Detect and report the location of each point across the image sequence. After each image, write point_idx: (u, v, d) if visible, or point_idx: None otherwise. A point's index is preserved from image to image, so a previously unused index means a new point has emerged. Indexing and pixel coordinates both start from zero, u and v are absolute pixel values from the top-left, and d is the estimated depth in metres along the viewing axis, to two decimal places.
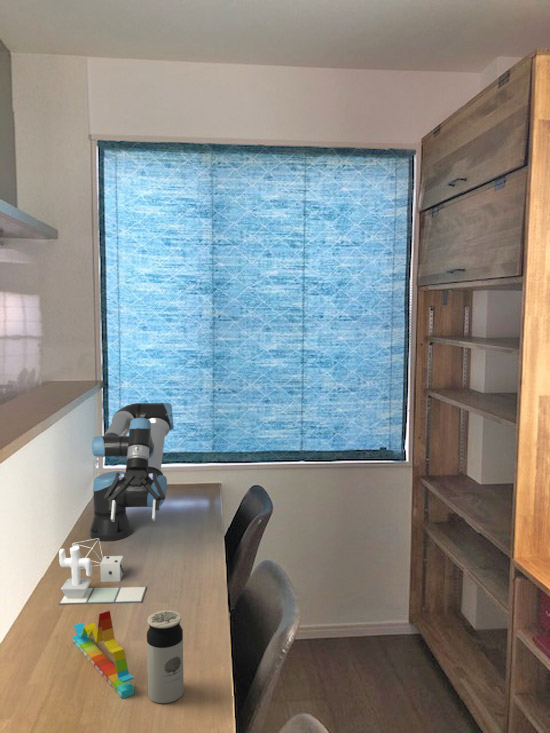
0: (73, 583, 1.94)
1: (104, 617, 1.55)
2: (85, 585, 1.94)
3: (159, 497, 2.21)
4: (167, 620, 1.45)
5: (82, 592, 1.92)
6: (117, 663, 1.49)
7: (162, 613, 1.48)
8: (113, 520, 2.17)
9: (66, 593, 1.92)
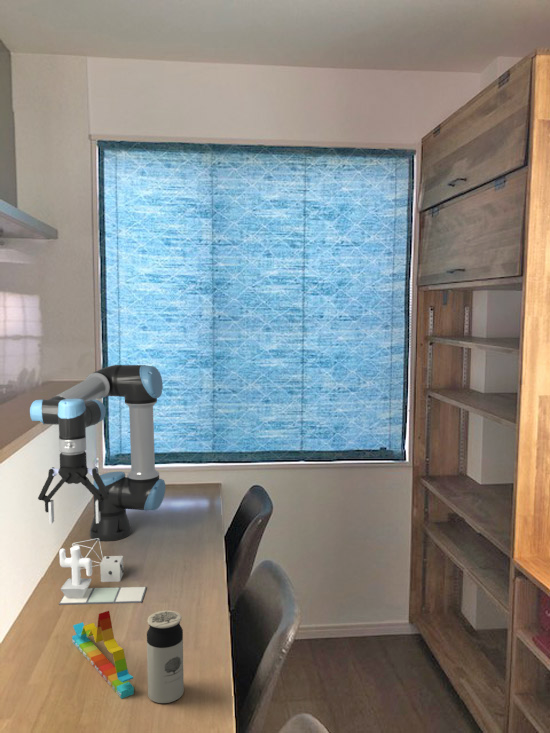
0: (73, 583, 1.94)
1: (104, 617, 1.55)
2: (85, 585, 1.94)
3: (102, 498, 1.92)
4: (167, 620, 1.45)
5: (82, 592, 1.92)
6: (117, 662, 1.49)
7: (162, 613, 1.48)
8: (52, 522, 1.93)
9: (66, 593, 1.92)
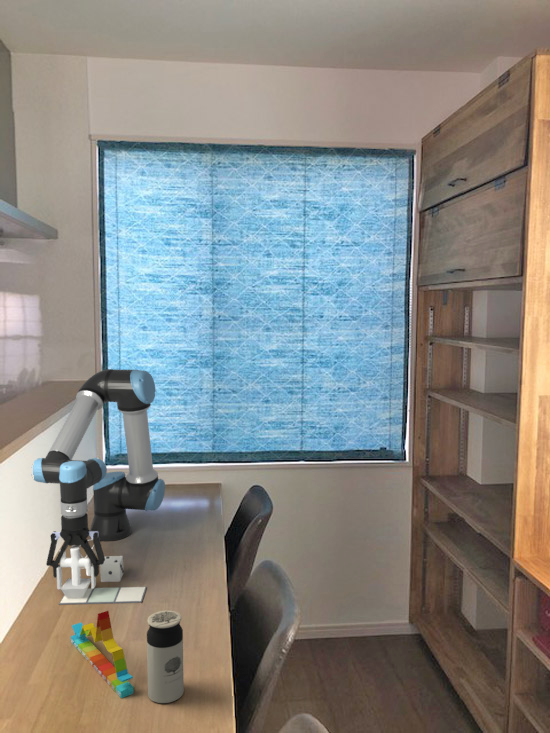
0: (73, 583, 1.94)
1: (103, 617, 1.55)
2: (85, 585, 1.94)
3: (98, 563, 1.94)
4: (167, 619, 1.45)
5: (82, 592, 1.92)
6: (116, 662, 1.49)
7: (163, 613, 1.48)
8: (60, 587, 1.95)
9: (66, 593, 1.92)
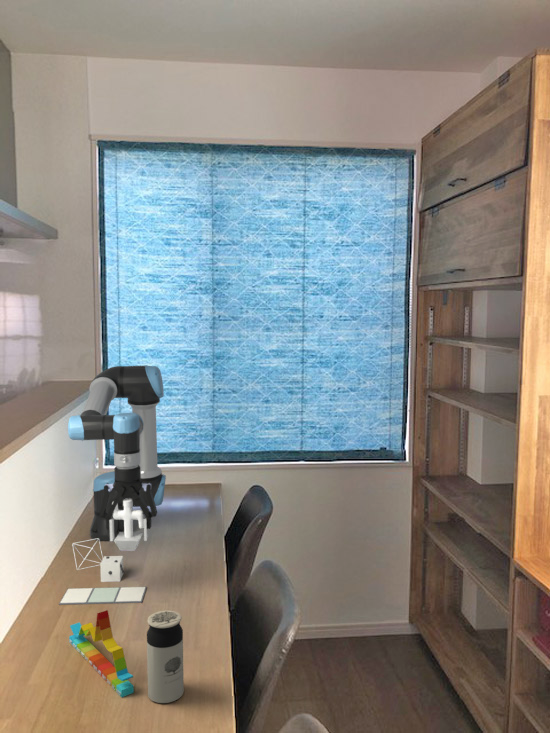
0: (126, 535, 1.93)
1: (103, 617, 1.55)
2: (138, 537, 1.93)
3: (150, 516, 1.94)
4: (167, 619, 1.45)
5: (135, 544, 1.92)
6: (116, 661, 1.49)
7: (163, 613, 1.48)
8: (113, 539, 1.94)
9: (119, 545, 1.92)
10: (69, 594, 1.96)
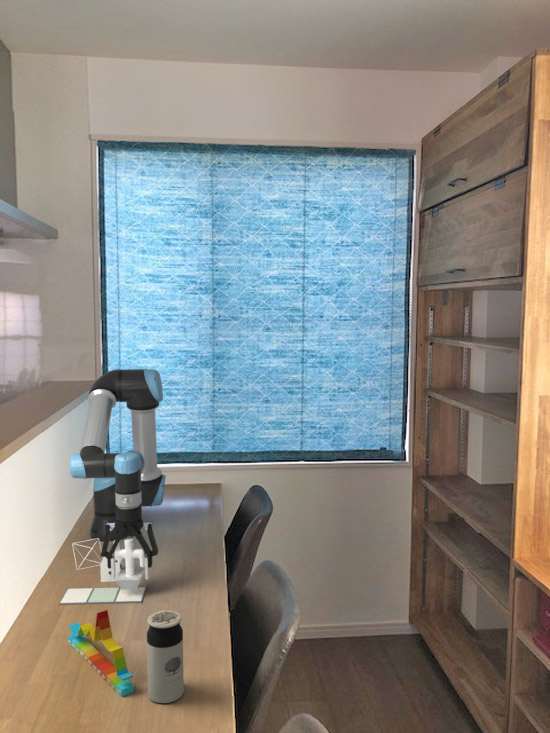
0: (127, 574, 1.94)
1: (102, 617, 1.56)
2: (139, 576, 1.94)
3: (151, 554, 1.95)
4: (167, 619, 1.45)
5: (136, 583, 1.93)
6: (116, 661, 1.50)
7: (163, 613, 1.48)
8: (114, 578, 1.96)
9: (120, 584, 1.93)
10: (69, 594, 1.96)
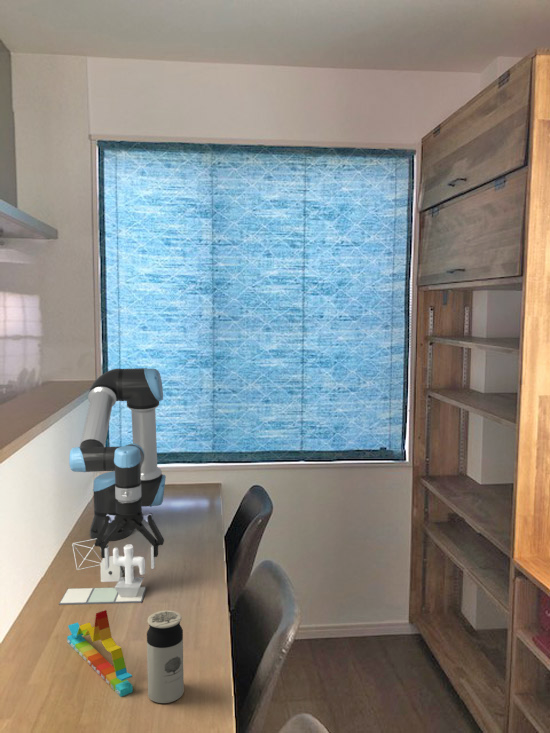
0: (126, 582, 1.95)
1: (101, 617, 1.56)
2: (138, 584, 1.95)
3: (157, 543, 1.95)
4: (167, 619, 1.45)
5: (136, 591, 1.93)
6: (115, 661, 1.50)
7: (163, 613, 1.48)
8: (108, 567, 1.96)
9: (120, 592, 1.93)
10: (69, 594, 1.96)
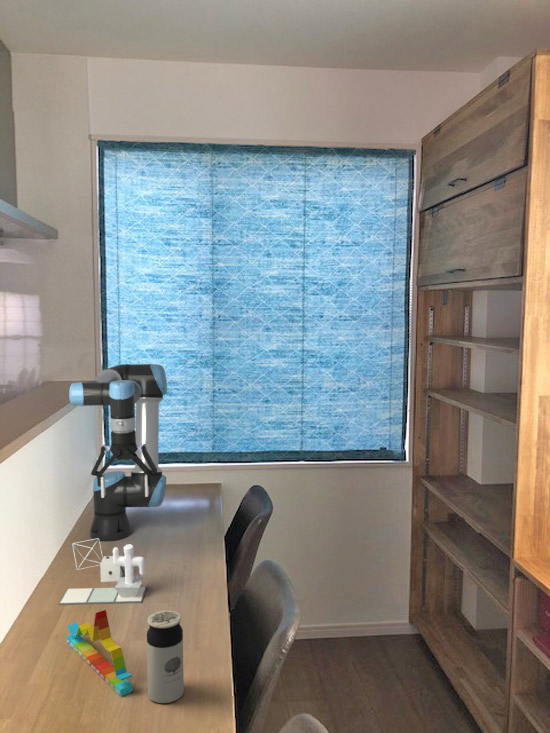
0: (126, 582, 1.95)
1: (101, 616, 1.56)
2: (138, 584, 1.95)
3: (151, 473, 2.05)
4: (167, 619, 1.45)
5: (136, 591, 1.93)
6: (115, 661, 1.50)
7: (163, 613, 1.48)
8: (104, 496, 2.06)
9: (120, 592, 1.93)
10: (69, 594, 1.96)
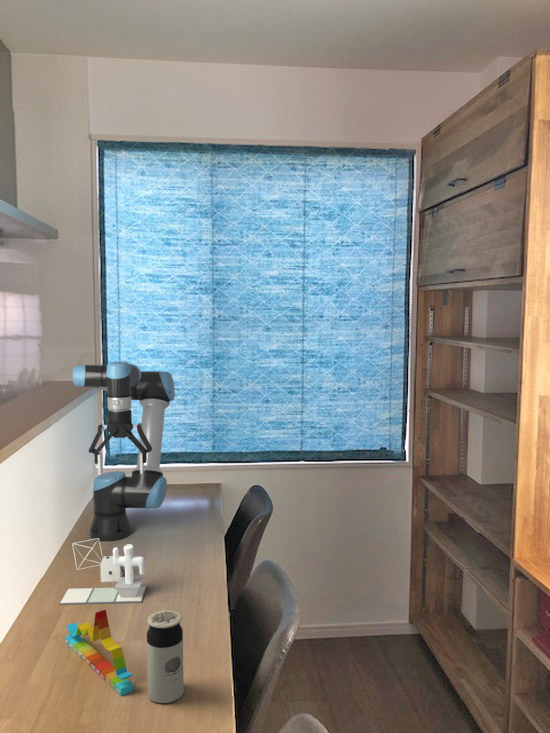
0: (126, 582, 1.95)
1: (101, 616, 1.56)
2: (138, 584, 1.95)
3: (146, 451, 2.14)
4: (167, 619, 1.45)
5: (136, 591, 1.93)
6: (115, 660, 1.50)
7: (163, 613, 1.48)
8: None
9: (120, 592, 1.93)
10: (69, 594, 1.96)
